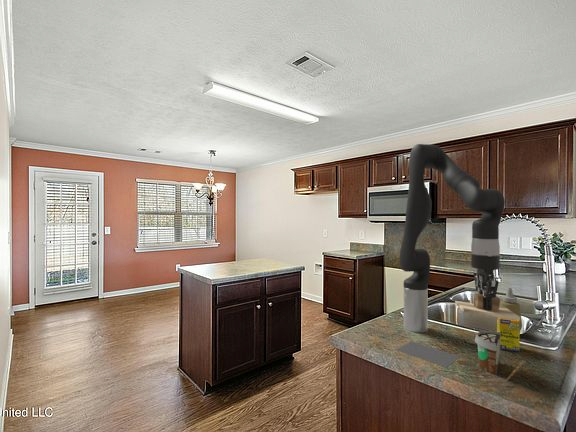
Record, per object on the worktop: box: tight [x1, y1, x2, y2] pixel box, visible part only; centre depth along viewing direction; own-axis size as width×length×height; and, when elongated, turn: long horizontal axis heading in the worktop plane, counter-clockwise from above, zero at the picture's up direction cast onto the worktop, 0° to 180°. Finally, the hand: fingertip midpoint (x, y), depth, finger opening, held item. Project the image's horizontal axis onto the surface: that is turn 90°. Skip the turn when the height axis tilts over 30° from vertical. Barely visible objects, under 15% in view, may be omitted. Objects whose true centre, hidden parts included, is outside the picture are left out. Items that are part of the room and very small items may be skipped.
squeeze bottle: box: [499, 287, 523, 331], centre depth 126 cm, size 8×8×18 cm
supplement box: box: [496, 317, 521, 353], centre depth 112 cm, size 6×6×11 cm
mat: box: [395, 340, 461, 368], centre depth 107 cm, size 11×17×1 cm, turn 41°
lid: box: [454, 292, 520, 320], centre depth 98 cm, size 9×15×5 cm, turn 77°
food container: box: [474, 330, 501, 376], centre depth 98 cm, size 12×6×10 cm, turn 141°
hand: (485, 307), depth 98 cm, fingers closed on lid, 3 cm apart
